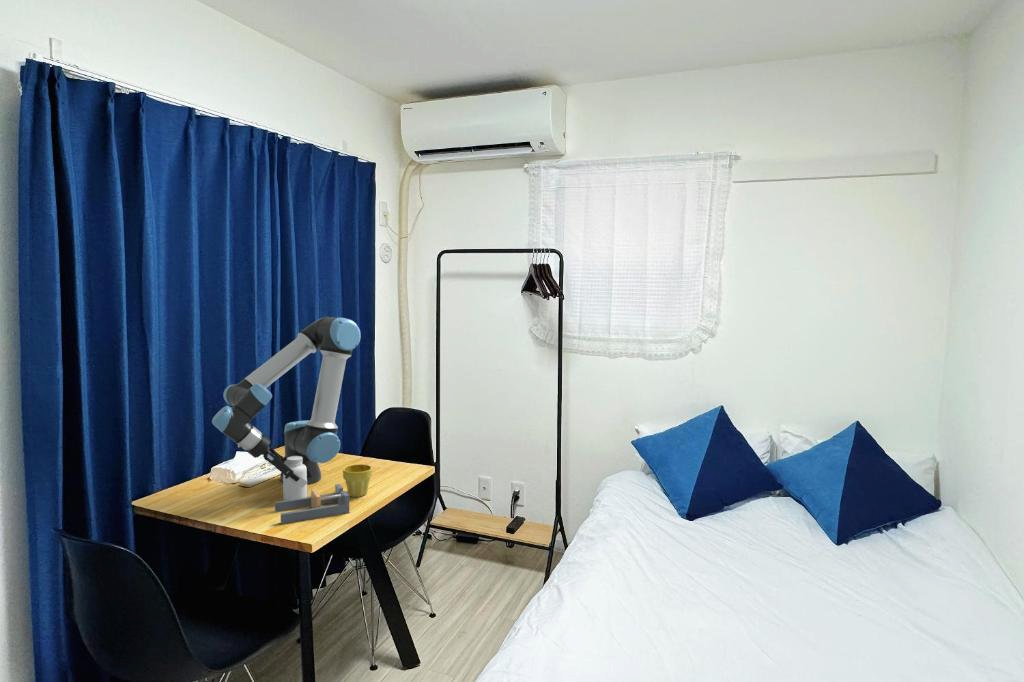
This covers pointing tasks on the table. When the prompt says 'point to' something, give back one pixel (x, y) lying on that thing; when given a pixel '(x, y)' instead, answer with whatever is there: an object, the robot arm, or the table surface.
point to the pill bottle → (292, 488)
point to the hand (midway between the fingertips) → (300, 479)
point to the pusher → (319, 498)
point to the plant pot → (357, 479)
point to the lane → (313, 513)
